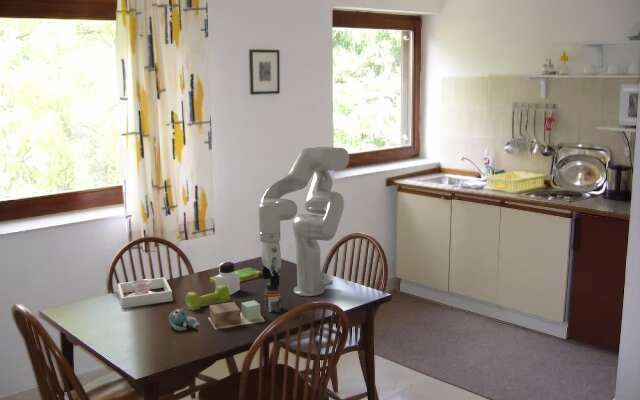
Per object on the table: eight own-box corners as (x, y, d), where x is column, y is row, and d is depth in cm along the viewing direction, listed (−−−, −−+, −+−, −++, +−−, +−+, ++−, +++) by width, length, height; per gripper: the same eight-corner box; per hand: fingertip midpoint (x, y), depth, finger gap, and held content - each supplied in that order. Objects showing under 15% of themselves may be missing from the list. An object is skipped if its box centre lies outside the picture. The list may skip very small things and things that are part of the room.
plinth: (256, 312, 248) (255, 296, 247) (265, 324, 237) (264, 307, 236) (208, 320, 242) (207, 304, 241) (215, 332, 231) (214, 315, 230)
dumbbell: (193, 315, 248) (192, 296, 247) (184, 309, 254) (182, 291, 253) (232, 305, 258) (231, 287, 256) (222, 299, 264) (221, 282, 263)
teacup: (141, 304, 261) (140, 289, 260) (120, 299, 267) (118, 284, 266) (163, 295, 271) (162, 280, 270) (142, 290, 277) (141, 276, 276)
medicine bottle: (240, 289, 274) (238, 261, 272) (230, 295, 268) (229, 266, 266) (225, 287, 277) (223, 259, 275) (215, 293, 271) (214, 264, 269)
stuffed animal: (189, 320, 229) (161, 309, 233) (187, 339, 231) (160, 327, 236) (208, 310, 238) (181, 299, 243) (206, 328, 240) (179, 317, 245)
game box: (210, 284, 286) (249, 271, 299) (222, 289, 279) (262, 276, 292) (209, 277, 286) (249, 264, 298) (222, 282, 278) (262, 269, 291)
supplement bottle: (265, 309, 251) (264, 280, 249) (281, 309, 252) (280, 280, 250) (265, 315, 246) (264, 286, 243) (281, 314, 246) (280, 285, 244)
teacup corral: (165, 286, 281) (164, 277, 280) (172, 300, 264) (171, 291, 263) (118, 293, 274) (117, 283, 274) (122, 308, 257) (121, 298, 256)
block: (254, 313, 245) (253, 300, 244) (260, 317, 241) (260, 304, 240) (242, 316, 242) (241, 303, 241) (247, 320, 238) (247, 307, 237)
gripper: (287, 240, 236) (288, 287, 239) (272, 230, 252) (273, 274, 255) (266, 242, 233) (267, 290, 236) (253, 232, 249) (254, 277, 252)
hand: (271, 282), depth 246 cm, fingers open, 9 cm apart
